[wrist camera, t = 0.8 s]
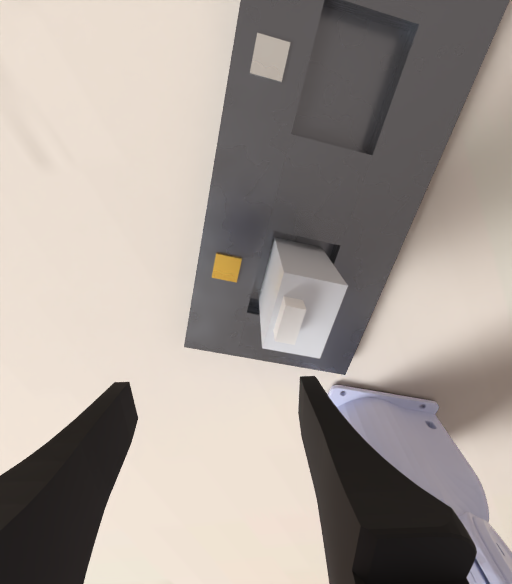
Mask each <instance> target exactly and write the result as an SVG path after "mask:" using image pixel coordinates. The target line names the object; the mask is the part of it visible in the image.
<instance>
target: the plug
mask: <svg viewBox="0 0 512 584" xmlns="http://www.w3.org/2000/svg"><path fill="white" fill-rule="evenodd" d="M347 287H348V285H347V284H346V282H345V281H344V279H343V278H342V276H341V275H340V273H339V272H338V271H337V269H336V268H335V266H334V265H333V263H332V262H331V260H330V259H329V257H328V256H327V255H326V253H325V252H324V250H323V249H322V248H320V247H316V246H311V245H307V244H302V243H298V242H293V241H288V240H284V239H279V238H275V237H274V241H273V245H272V249H271V252H270V256H269V260H268V264H267V268H266V271H265V275H264V279H263V283H262V287H261V291H260V294H259V310H260V324H261V339H262V348H263V349H269V350H274V351H280V352H286V353H291V354H297V355H303V356H308V357H314V358H319V359H320V357H321V355H322V352H323V349H324V347H325V344H326V342H327V339H328V336H329V334H330V331H331V329H332V326H333V323H334V321H335V318H336V316H337V313H338V311H339V308H340V305H341V303H342V300H343V298H344V295H345V292H346V290H347Z"/></svg>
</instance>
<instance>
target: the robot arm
mask: <svg viewBox="0 0 512 584" xmlns="http://www.w3.org/2000/svg"><path fill="white" fill-rule="evenodd" d="M342 391H344V392H342ZM341 392H342V393H341ZM438 409H439V405H438V404H437V402H435V401H431V400H425V399H419V398H413V397H407V396H401V395H395V394H389V393H383V392H378V391H372V390H366V389H360V388H354V387H348V386H342V385H334V386H332V387H331V389H330V391H329V393H328V395H327V393H326V392H325V390H324V389H323V387H322V386H321V384H320V383H319V381H318V379H317V378H316V377H315V376H304V377H300V390H299V412H298V413H299V421H300V428H301V435H302V440H303V444H304V448H305V452H306V456H307V460H308V464H309V468H310V472H311V476H312V480H313V484H314V488H315V493H316V498H317V503H318V509H319V515H320V522H321V528H322V535H323V542H324V548H325V555H326V562H327V569H328V576H329V584H512V552H511V551H510V549H509V548H508V547H507V545H506V544H505V543H504V541H503V540H502V539H501V537H500V536H499V535H498V534H497V532H496V531H495V530H494V529H493V528H492V526H491V525H490V524H489V509H488V504H487V499H486V496H485V492H484V490H483V487H482V485H481V483H480V480H479V478H478V477H477V475H476V474H475V472H474V470H473V469H472V468H471V466H470V465H469V463H468V462H467V460H466V459H465V457H464V456H463V454H462V453H461V451H460V450H459V449H458V447H457V446H456V444H455V443H454V441H453V440H452V438H451V437H450V435H449V434H448V432H447V431H446V429H445V428H444V427H443V425H442V424H441V422H440V421H439V419H438V418H437V416H436V415H435V414H436V412H437V411H438ZM137 420H138V416H137V412H136V408H135V404H134V400H133V396H132V391H131V387H130V383H129V382H115V383H114V384H112V385H111V386H110V387H109V388H108V389H107V390H106V391H105V392H104V393H103V394H102V395H101V396H100V397H99V398H97V399H96V400H95V401H94V402H93V403H92V404H91V405H90V406H89V407H88V408H87V409H86V410H85V411H83V412H82V413H81V414H80V415H79V416H78V417H77V418H76V419H75V420H74V421H72V422H71V423H70V424H69V425H68V426H67V427H65V428H64V429H63V430H62V431H61V432H59V433H58V434H57V435H56V436H55V437H54V438H52V439H51V440H50V441H49V442H47V443H46V444H45V445H43V446H42V447H41V448H40V449H38V450H37V451H35V452H34V453H33V454H31V455H30V456H29V457H27V458H26V459H25V460H23V461H22V462H20V463H19V464H17V465H16V466H14V467H13V468H11V469H10V470H8V471H7V472H5V473H4V474H2V475H1V476H0V584H83V583H84V579H85V575H86V571H87V568H88V564H89V560H90V557H91V553H92V550H93V546H94V543H95V539H96V536H97V533H98V529H99V526H100V523H101V520H102V516H103V513H104V510H105V507H106V504H107V502H108V499H109V496H110V494H111V491H112V489H113V486H114V484H115V482H116V479H117V477H118V474H119V472H120V469H121V467H122V465H123V462H124V460H125V457H126V455H127V452H128V450H129V447H130V445H131V442H132V439H133V435H134V432H135V428H136V424H137Z"/></svg>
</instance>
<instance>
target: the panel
mask: <svg viewBox="0 0 512 584" xmlns="http://www.w3.org/2000/svg"><path fill="white" fill-rule="evenodd" d="M508 3H509V0H241V2H240V8H239V14H238V20H237V26H236V33H235V39H234V45H233V51H232V57H231V63H230V69H229V75H228V81H227V88H226V94H225V100H224V106H223V112H222V118H221V124H220V130H219V136H218V143H217V149H216V155H215V161H214V167H213V173H212V179H211V185H210V192H209V198H208V204H207V210H206V216H205V222H204V228H203V234H202V240H201V247H200V253H199V259H198V265H197V271H196V277H195V283H194V289H193V295H192V302H191V308H190V314H189V320H188V326H187V332H186V338H185V344H184V347H188V348H193V349H199V350H205V351H211V352H216V353H222V354H228V355H234V356H239V357H245V358H251V359H257V360H262V361H268V362H274V363H280V364H285V365H291V366H297V367H303V368H308V369H314V370H320V371H326V372H331V373H337V374H343V375H345V374H346V372H347V370H348V367H349V365H350V363H351V361H352V358H353V356H354V354H355V351H356V349H357V347H358V345H359V342H360V340H361V338H362V335H363V333H364V331H365V329H366V326H367V324H368V322H369V319H370V317H371V315H372V313H373V310H374V308H375V306H376V304H377V301H378V299H379V297H380V294H381V292H382V290H383V288H384V285H385V283H386V281H387V278H388V276H389V274H390V272H391V269H392V267H393V265H394V263H395V260H396V258H397V256H398V253H399V251H400V249H401V247H402V244H403V242H404V240H405V237H406V235H407V233H408V231H409V228H410V226H411V224H412V221H413V219H414V217H415V215H416V212H417V210H418V208H419V206H420V203H421V201H422V199H423V196H424V194H425V192H426V190H427V187H428V185H429V183H430V180H431V178H432V176H433V174H434V171H435V169H436V167H437V165H438V162H439V160H440V158H441V155H442V153H443V151H444V149H445V146H446V144H447V142H448V139H449V137H450V135H451V133H452V130H453V128H454V126H455V124H456V121H457V119H458V117H459V114H460V112H461V110H462V108H463V105H464V103H465V101H466V98H467V96H468V94H469V92H470V89H471V87H472V85H473V82H474V80H475V78H476V76H477V73H478V71H479V69H480V67H481V64H482V62H483V60H484V57H485V55H486V53H487V51H488V48H489V46H490V44H491V41H492V39H493V37H494V35H495V32H496V30H497V28H498V26H499V23H500V21H501V19H502V16H503V14H504V12H505V10H506V7H507V5H508ZM274 237H275V238H279V239H284V240H288V241H293V242H298V243H302V244H307V245H311V246H316V247H320V248H322V249H323V250H324V252H325V253H326V255H327V256H328V257H329V259H330V260H331V262H332V263H333V265H334V266H335V268H336V269H337V271H338V272H339V273H340V275H341V276H342V278H343V279H344V281H345V282H346V284H347V285H348V287H347V290H346V292H345V295H344V298H343V300H342V303H341V305H340V308H339V311H338V313H337V316H336V318H335V321H334V323H333V326H332V329H331V331H330V334H329V336H328V339H327V342H326V344H325V347H324V349H323V352H322V355H321V357H320V359H319V358H314V357H308V356H303V355H297V354H291V353H286V352H280V351H274V350H269V349H263V348H262V339H261V324H260V310H259V294H260V291H261V287H262V283H263V279H264V275H265V271H266V268H267V264H268V260H269V256H270V252H271V249H272V245H273V241H274Z"/></svg>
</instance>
